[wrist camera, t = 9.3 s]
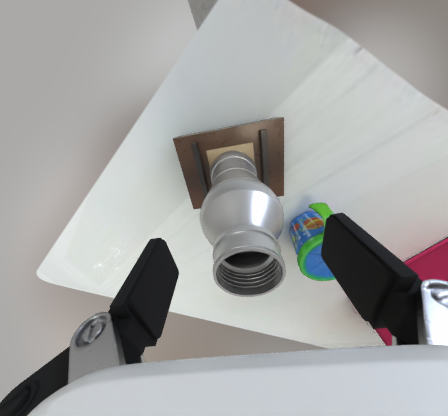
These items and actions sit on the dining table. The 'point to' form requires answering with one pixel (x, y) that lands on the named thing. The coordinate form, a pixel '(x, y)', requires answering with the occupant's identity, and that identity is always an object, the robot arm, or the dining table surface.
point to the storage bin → (425, 272)
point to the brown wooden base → (233, 141)
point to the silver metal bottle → (243, 227)
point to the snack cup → (311, 242)
